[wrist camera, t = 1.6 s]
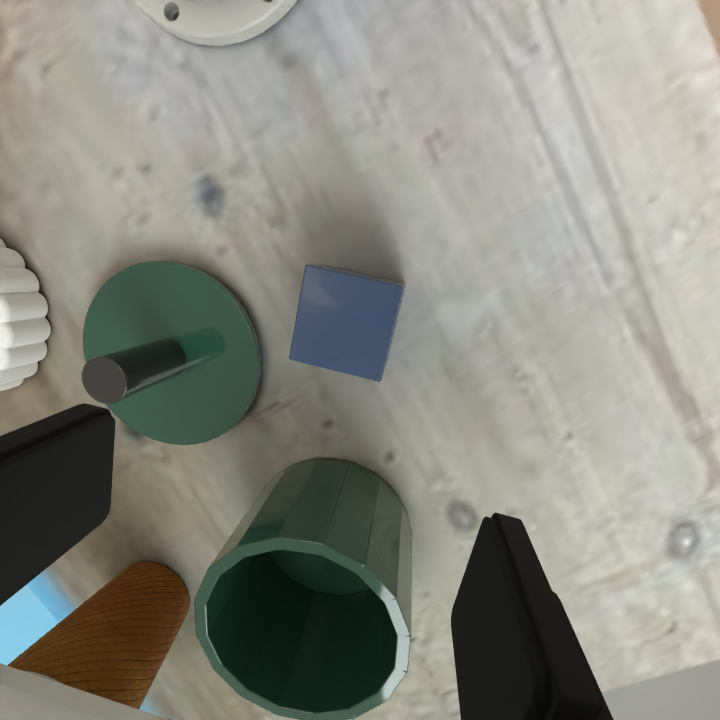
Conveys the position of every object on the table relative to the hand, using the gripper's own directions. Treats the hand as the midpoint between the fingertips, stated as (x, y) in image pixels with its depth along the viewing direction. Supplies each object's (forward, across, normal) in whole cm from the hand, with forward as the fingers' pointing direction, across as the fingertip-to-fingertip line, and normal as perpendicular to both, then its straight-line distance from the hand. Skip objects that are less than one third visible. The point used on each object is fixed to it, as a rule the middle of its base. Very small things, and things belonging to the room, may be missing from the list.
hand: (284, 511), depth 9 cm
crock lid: (+16, +13, +3) cm, 20 cm away
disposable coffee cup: (+16, +13, +23) cm, 31 cm away
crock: (+16, 0, +13) cm, 21 cm away
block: (+16, +1, -3) cm, 16 cm away
